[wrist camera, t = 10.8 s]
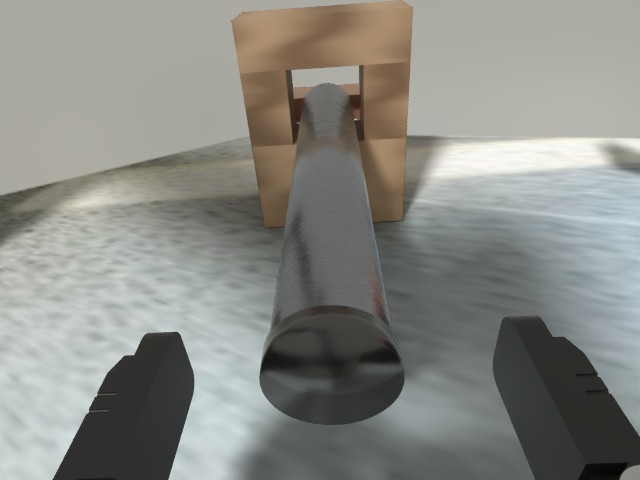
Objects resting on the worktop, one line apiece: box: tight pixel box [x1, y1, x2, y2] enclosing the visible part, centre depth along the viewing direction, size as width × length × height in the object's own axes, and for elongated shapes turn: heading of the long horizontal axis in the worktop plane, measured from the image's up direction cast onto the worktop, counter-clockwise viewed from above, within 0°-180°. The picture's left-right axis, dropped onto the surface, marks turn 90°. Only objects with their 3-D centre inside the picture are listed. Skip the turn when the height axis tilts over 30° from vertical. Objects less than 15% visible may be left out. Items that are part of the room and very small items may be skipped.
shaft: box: [259, 83, 404, 425], centre depth 19 cm, size 21×3×3 cm, turn 0°
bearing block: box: [231, 1, 413, 228], centre depth 29 cm, size 10×4×14 cm, turn 90°
